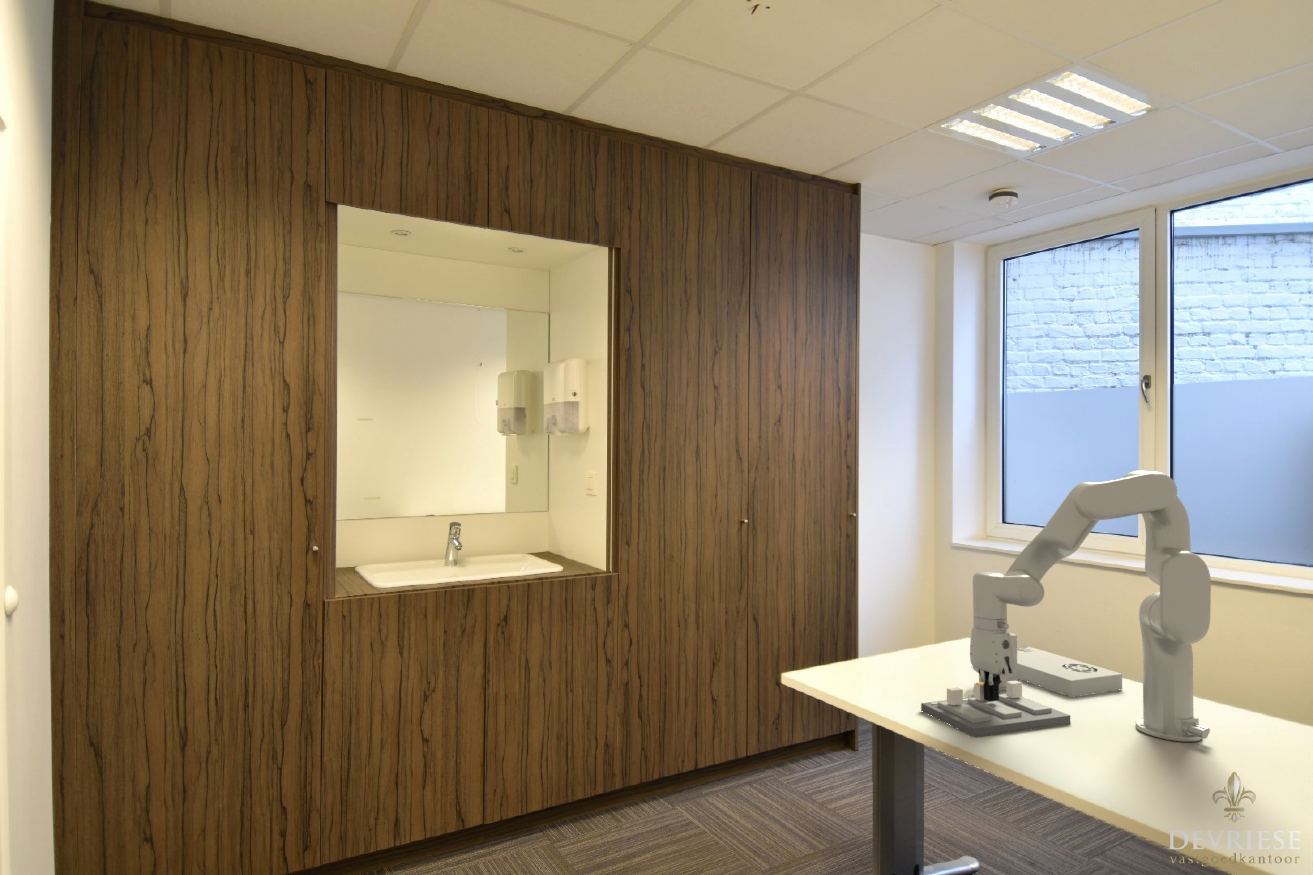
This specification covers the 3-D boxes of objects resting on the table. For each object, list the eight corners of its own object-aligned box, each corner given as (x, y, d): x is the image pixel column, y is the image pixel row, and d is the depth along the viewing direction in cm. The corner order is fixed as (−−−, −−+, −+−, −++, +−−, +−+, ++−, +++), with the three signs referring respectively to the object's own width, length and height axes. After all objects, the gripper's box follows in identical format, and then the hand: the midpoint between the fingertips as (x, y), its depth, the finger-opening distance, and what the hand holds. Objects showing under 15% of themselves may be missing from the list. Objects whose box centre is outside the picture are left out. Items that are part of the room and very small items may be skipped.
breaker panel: (1070, 723, 176) (1070, 711, 176) (973, 737, 167) (973, 723, 167) (1011, 700, 193) (1011, 688, 193) (921, 711, 184) (921, 699, 184)
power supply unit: (1024, 661, 234) (1024, 644, 234) (1123, 692, 203) (1122, 673, 203) (977, 666, 227) (976, 650, 227) (1071, 699, 196) (1071, 680, 196)
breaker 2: (1022, 696, 185) (1021, 682, 186) (1012, 698, 184) (1012, 683, 185) (1015, 694, 187) (1015, 680, 187) (1006, 695, 186) (1006, 681, 186)
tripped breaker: (989, 699, 183) (989, 683, 184) (980, 700, 182) (979, 684, 183) (983, 696, 185) (983, 681, 185) (974, 697, 184) (974, 682, 184)
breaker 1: (962, 704, 180) (962, 689, 180) (952, 705, 179) (952, 690, 179) (956, 701, 182) (956, 686, 182) (946, 702, 181) (946, 688, 181)
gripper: (1026, 629, 176) (1028, 707, 175) (979, 616, 190) (980, 689, 189) (1001, 631, 173) (1003, 711, 173) (955, 618, 187) (956, 692, 187)
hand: (991, 699), depth 181 cm, fingers closed
